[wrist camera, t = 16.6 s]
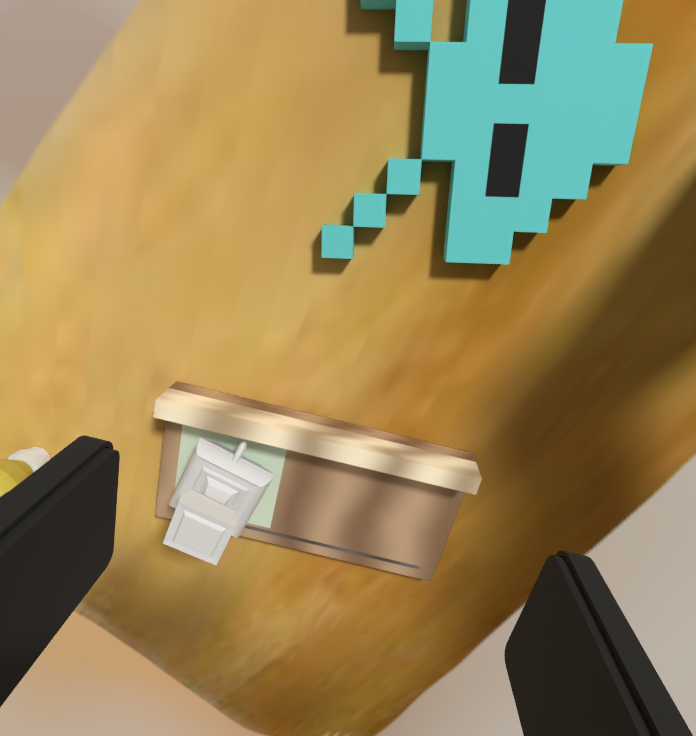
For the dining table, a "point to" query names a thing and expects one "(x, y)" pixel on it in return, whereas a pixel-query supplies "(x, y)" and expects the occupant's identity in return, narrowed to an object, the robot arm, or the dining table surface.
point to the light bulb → (20, 467)
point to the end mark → (256, 451)
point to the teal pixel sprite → (511, 117)
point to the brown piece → (333, 481)
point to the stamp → (214, 499)
